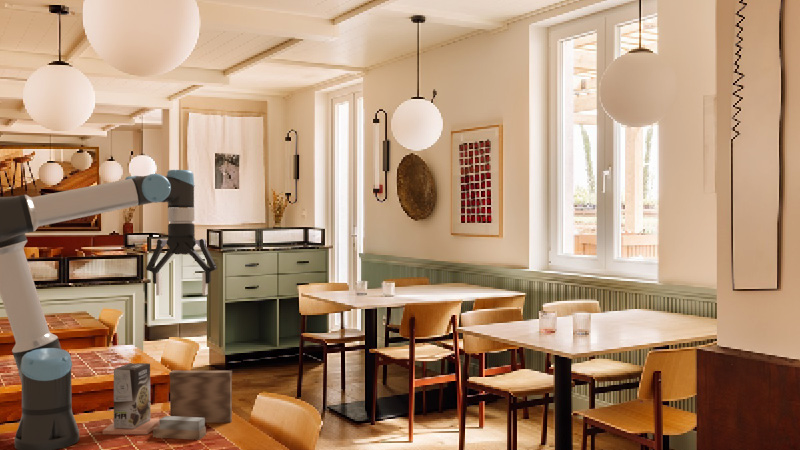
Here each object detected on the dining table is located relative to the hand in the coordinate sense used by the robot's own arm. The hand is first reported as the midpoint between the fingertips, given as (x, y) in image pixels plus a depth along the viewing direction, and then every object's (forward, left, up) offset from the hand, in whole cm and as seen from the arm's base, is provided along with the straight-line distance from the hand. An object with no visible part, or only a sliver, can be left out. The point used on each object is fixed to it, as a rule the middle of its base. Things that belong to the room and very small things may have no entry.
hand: (182, 295), depth 227 cm
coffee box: (-9, -16, -34) cm, 39 cm away
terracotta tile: (-9, -16, -35) cm, 39 cm away
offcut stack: (+6, -23, -35) cm, 43 cm away
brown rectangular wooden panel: (+8, -9, -35) cm, 37 cm away
